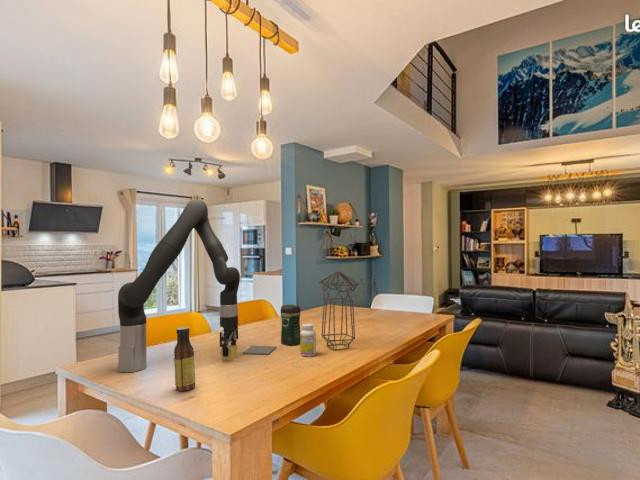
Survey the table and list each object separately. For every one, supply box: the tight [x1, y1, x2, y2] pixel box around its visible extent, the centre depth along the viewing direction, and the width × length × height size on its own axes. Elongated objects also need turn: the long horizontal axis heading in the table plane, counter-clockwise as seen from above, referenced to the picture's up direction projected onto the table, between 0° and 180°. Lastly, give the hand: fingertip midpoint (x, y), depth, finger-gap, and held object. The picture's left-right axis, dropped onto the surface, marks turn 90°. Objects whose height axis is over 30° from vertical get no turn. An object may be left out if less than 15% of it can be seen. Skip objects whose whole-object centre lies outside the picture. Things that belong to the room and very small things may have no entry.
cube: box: [220, 344, 238, 362], centre depth 156 cm, size 5×5×5 cm
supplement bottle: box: [299, 323, 317, 358], centre depth 160 cm, size 7×7×13 cm
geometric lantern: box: [317, 270, 360, 351], centre depth 172 cm, size 16×16×35 cm
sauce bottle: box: [173, 326, 196, 392], centre depth 123 cm, size 7×6×20 cm
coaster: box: [241, 345, 277, 356], centre depth 167 cm, size 12×12×1 cm
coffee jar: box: [280, 304, 302, 346], centre depth 180 cm, size 10×8×19 cm
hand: (229, 353), depth 157 cm, fingers open, 8 cm apart
